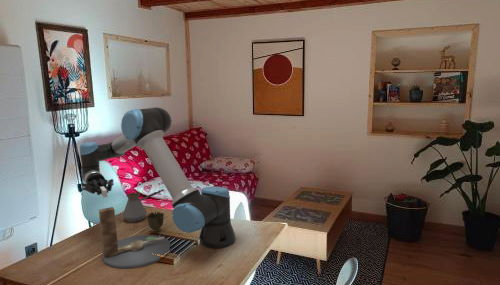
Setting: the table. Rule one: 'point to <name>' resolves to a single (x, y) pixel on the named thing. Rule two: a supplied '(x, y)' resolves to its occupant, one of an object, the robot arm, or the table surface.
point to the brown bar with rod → (115, 235)
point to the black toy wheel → (155, 221)
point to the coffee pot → (136, 207)
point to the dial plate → (138, 252)
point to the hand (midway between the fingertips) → (105, 193)
